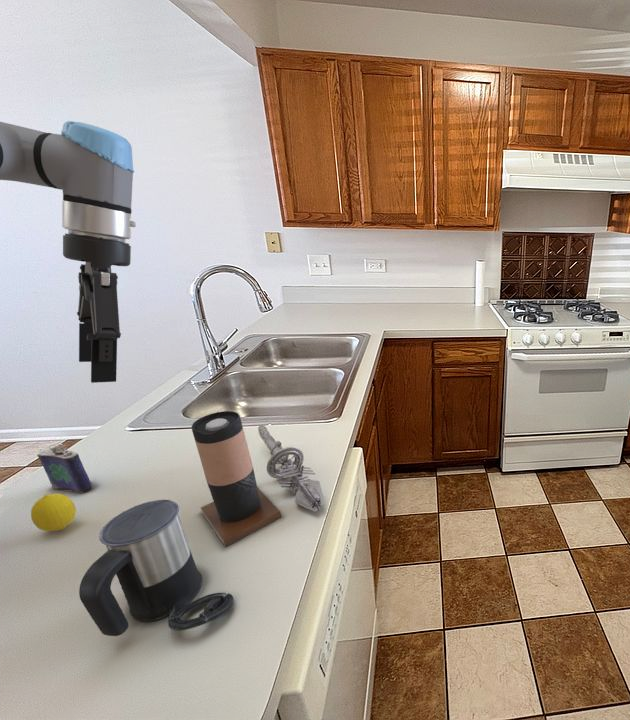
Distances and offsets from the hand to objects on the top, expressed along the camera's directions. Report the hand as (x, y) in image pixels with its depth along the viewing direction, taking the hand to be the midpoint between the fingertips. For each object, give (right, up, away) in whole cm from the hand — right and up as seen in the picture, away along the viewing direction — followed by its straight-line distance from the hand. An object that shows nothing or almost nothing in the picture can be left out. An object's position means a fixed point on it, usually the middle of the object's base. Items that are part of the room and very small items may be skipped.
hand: (96, 371), depth 64 cm
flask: (-27, -26, +23) cm, 44 cm away
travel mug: (+15, -28, +14) cm, 35 cm away
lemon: (-18, -31, +12) cm, 37 cm away
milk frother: (+16, -36, -3) cm, 40 cm away
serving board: (+15, -29, +15) cm, 36 cm away
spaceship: (+18, -25, +26) cm, 41 cm away
